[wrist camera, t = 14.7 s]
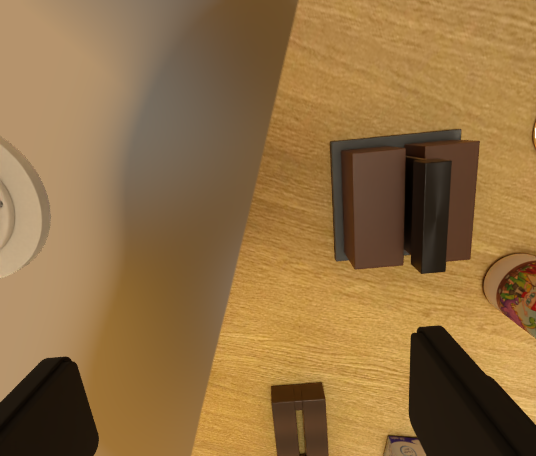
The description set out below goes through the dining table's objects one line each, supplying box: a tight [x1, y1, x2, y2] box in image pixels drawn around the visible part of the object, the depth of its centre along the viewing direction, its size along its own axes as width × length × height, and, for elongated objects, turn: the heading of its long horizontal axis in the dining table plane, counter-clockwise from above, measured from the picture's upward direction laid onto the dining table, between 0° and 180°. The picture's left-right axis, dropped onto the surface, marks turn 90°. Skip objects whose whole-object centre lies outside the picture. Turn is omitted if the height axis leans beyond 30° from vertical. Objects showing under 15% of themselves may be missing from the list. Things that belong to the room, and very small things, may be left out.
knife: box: [404, 156, 452, 274], centre depth 33 cm, size 10×2×9 cm, turn 5°
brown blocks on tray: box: [330, 129, 480, 269], centre depth 36 cm, size 14×14×6 cm
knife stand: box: [271, 383, 329, 456], centre depth 46 cm, size 14×7×3 cm, turn 5°
